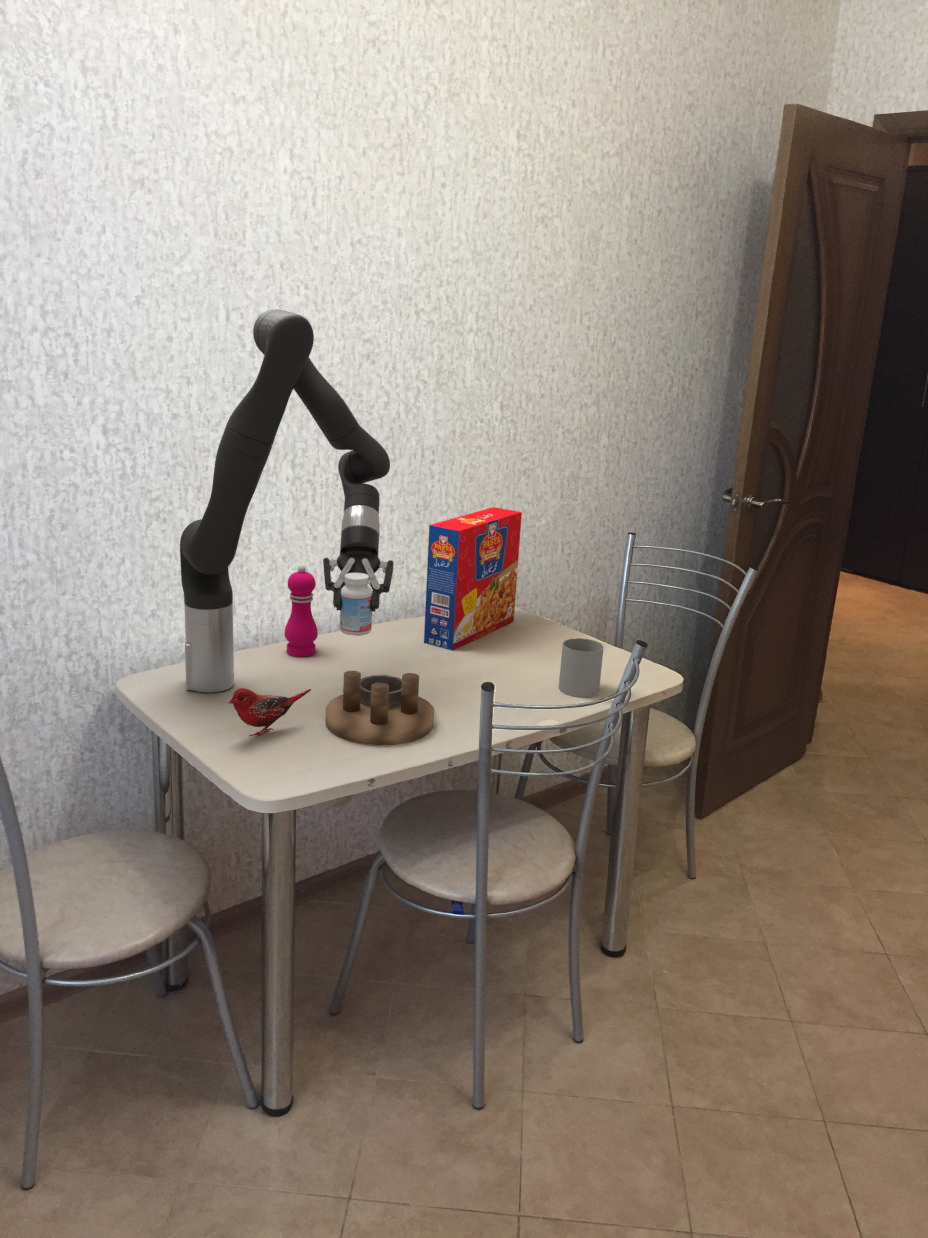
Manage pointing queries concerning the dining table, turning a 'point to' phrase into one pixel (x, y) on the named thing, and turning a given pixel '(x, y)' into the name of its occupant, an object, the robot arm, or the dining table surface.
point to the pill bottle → (356, 605)
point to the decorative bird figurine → (261, 707)
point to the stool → (380, 710)
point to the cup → (580, 667)
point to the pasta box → (471, 576)
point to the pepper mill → (301, 615)
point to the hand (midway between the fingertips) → (356, 609)
